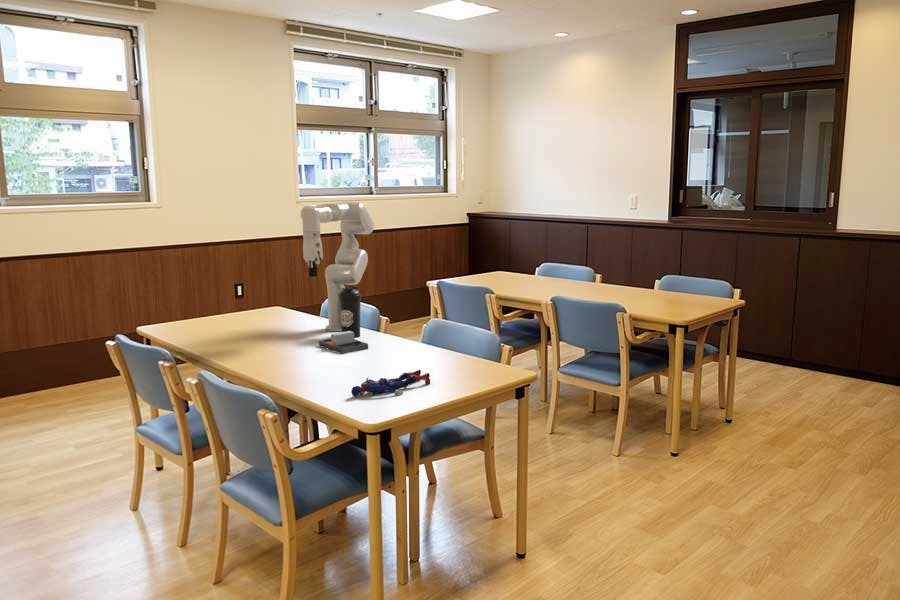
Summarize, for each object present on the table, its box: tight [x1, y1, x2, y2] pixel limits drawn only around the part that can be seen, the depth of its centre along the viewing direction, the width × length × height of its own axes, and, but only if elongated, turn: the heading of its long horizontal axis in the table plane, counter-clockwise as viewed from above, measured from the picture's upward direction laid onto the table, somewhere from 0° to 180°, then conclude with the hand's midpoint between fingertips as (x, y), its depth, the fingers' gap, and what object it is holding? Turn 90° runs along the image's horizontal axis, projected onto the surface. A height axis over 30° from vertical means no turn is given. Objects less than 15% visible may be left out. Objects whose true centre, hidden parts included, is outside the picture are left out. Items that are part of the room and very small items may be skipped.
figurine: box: [351, 369, 431, 398], centre depth 240 cm, size 15×6×30 cm
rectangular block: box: [330, 331, 355, 345], centre depth 299 cm, size 10×4×6 cm, turn 132°
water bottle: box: [339, 285, 362, 339], centre depth 319 cm, size 10×10×23 cm
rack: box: [318, 338, 369, 355], centre depth 300 cm, size 13×19×3 cm
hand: (313, 276), depth 310 cm, fingers closed
